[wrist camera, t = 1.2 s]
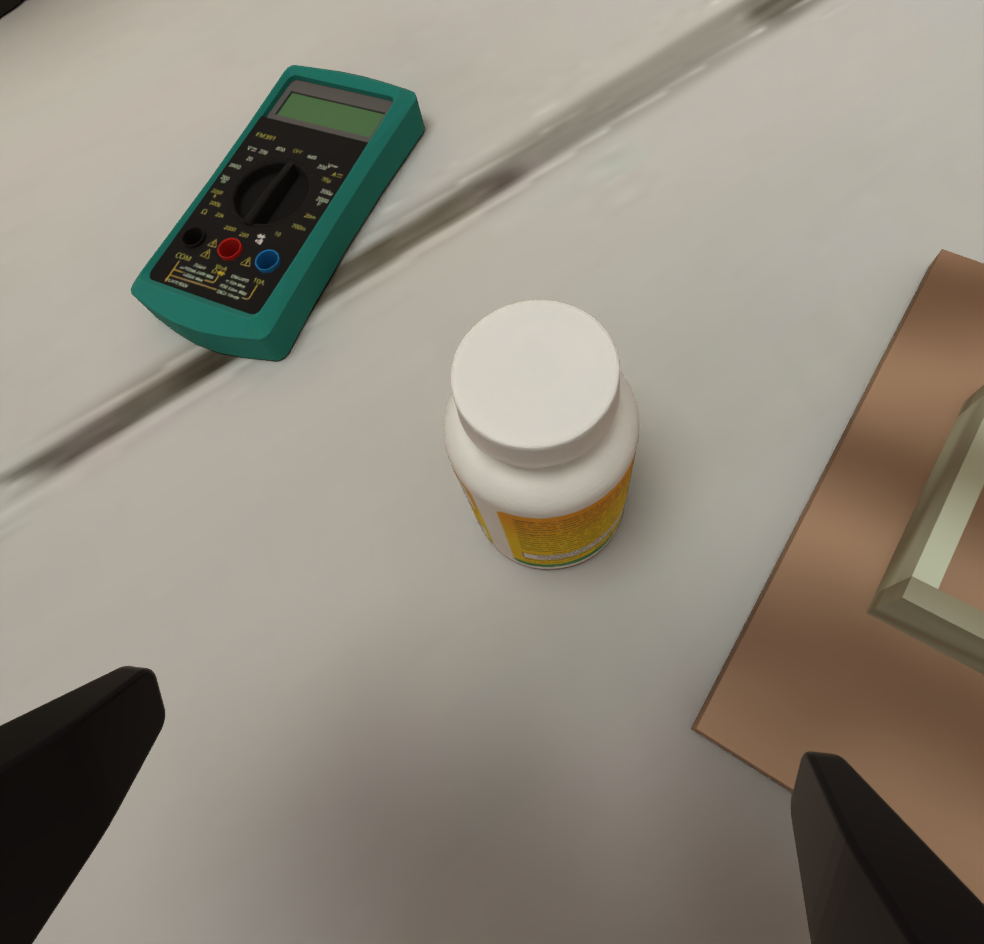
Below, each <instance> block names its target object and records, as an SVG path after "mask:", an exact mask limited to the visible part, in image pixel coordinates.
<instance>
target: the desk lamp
mask: <svg viewBox="0 0 984 944" xmlns="http://www.w3.org/2000/svg"><path fill="white" fill-rule="evenodd" d="M21 1H22V0H0V16H1V15H3V14H4V13H6V12H7V11H9V10H10V9H12V8H13V7H15V6H16V5H17V4H19V3H20V2H21Z"/></svg>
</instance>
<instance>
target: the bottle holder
mask: <svg viewBox="0 0 984 944" xmlns="http://www.w3.org/2000/svg"><path fill="white" fill-rule="evenodd" d="M691 729H692V730H694V731H696V732H697V733H699V734H700V735H702V736H704V737H705V738H707V739H708V740H710V741H711V742H713V743H715V744H716V745H718V746H719V747H721V748H723V749H724V750H726V751H727V752H729V753H730V754H732V755H734V756H735V757H737V758H738V759H740V760H742V761H743V762H745V763H746V764H748V765H750V766H751V767H753V768H754V769H756V770H757V771H759V772H761V773H762V774H764V775H765V776H767V777H769V778H770V779H772V780H773V781H775V782H776V783H778V784H780V785H781V786H783V787H784V788H786V789H788V790H789V791H791V792H792V793H793V789H794V785H795V781H796V777H797V773H798V769H799V765H800V761H801V757H802V756H803V754H804V753H805V752H808V751H814V752H822V753H830V754H836V755H839V756H841V757H842V758H844V759H845V760H846V761H847V762H848V763H849V764H850V765H851V766H852V767H853V768H854V769H855V771H856V772H857V773H858V774H859V775H860V776H861V777H862V778H863V779H864V780H865V781H866V782H867V783H868V784H869V785H870V786H871V787H872V788H873V789H874V790H875V791H876V792H877V793H878V794H879V795H880V797H881V798H882V799H883V800H884V801H885V802H886V803H887V804H888V805H889V806H890V807H891V808H892V809H893V810H894V811H895V812H896V813H897V814H898V815H899V816H900V817H901V818H902V819H903V820H904V821H905V823H906V824H907V825H908V826H909V827H910V828H911V829H912V830H913V831H914V832H915V833H916V834H917V835H918V836H919V837H920V838H921V839H922V840H923V841H924V842H925V843H926V844H927V845H928V846H929V847H930V849H931V850H932V851H933V852H934V853H935V854H936V855H937V856H938V857H939V858H940V859H941V860H942V861H943V862H944V863H945V864H946V865H947V866H948V867H949V868H950V869H951V870H952V871H953V872H954V874H955V875H956V876H957V877H958V878H959V879H960V880H961V881H962V882H963V883H964V884H965V885H966V886H967V887H968V888H969V889H970V890H971V891H972V892H973V893H974V894H975V895H976V896H977V897H978V898H979V900H980V901H981V902H982V903H983V904H984V264H983V263H980V262H978V261H975V260H972V259H969V258H966V257H963V256H960V255H958V254H955V253H952V252H949V251H946V250H943V249H942V250H941V251H940V253H939V254H938V255H937V257H936V258H935V259H934V261H933V262H932V263H931V265H930V266H929V268H928V270H927V272H926V274H925V276H924V278H923V279H922V281H921V283H920V285H919V287H918V289H917V291H916V293H915V295H914V297H913V299H912V301H911V303H910V305H909V307H908V309H907V311H906V313H905V314H904V316H903V318H902V320H901V322H900V324H899V326H898V328H897V330H896V332H895V334H894V336H893V338H892V340H891V342H890V344H889V346H888V347H887V349H886V351H885V353H884V355H883V357H882V359H881V361H880V363H879V365H878V367H877V369H876V371H875V373H874V375H873V377H872V379H871V381H870V382H869V384H868V386H867V388H866V390H865V392H864V394H863V396H862V398H861V400H860V402H859V404H858V406H857V408H856V410H855V412H854V414H853V415H852V417H851V419H850V421H849V423H848V425H847V427H846V429H845V431H844V433H843V435H842V437H841V439H840V441H839V443H838V445H837V447H836V449H835V450H834V452H833V454H832V456H831V458H830V460H829V462H828V464H827V466H826V468H825V470H824V472H823V474H822V476H821V478H820V480H819V482H818V483H817V485H816V487H815V489H814V491H813V493H812V495H811V497H810V499H809V501H808V503H807V505H806V507H805V509H804V511H803V513H802V515H801V517H800V518H799V520H798V522H797V524H796V526H795V528H794V530H793V532H792V534H791V536H790V538H789V540H788V542H787V544H786V546H785V548H784V550H783V551H782V553H781V555H780V557H779V559H778V561H777V563H776V565H775V567H774V569H773V571H772V573H771V575H770V577H769V579H768V581H767V583H766V585H765V586H764V588H763V590H762V592H761V594H760V596H759V598H758V600H757V602H756V604H755V606H754V608H753V610H752V612H751V614H750V616H749V618H748V619H747V621H746V623H745V625H744V627H743V629H742V631H741V633H740V635H739V637H738V639H737V641H736V643H735V645H734V647H733V649H732V651H731V653H730V654H729V656H728V658H727V660H726V662H725V664H724V666H723V668H722V670H721V672H720V674H719V676H718V678H717V680H716V682H715V684H714V686H713V687H712V689H711V691H710V693H709V695H708V697H707V699H706V701H705V703H704V705H703V707H702V709H701V711H700V713H699V715H698V717H697V719H696V721H695V722H694V724H693V726H692V728H691Z"/></svg>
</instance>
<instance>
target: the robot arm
mask: <svg viewBox="0 0 984 944" xmlns="http://www.w3.org/2000/svg"><path fill="white" fill-rule="evenodd" d="M164 720H165V708H164V704H163V700H162V697H161V693H160V689H159V686H158V682H157V678H156V675H155V673H154V672H153V671H152V670H150V669H148V668H141V667H133V666H124V667H120V668H118V669H116V670H114V671H112V672H110V673H108V674H106V675H104V676H102V677H100V678H98V679H95V680H93V681H91V682H89V683H87V684H85V685H83V686H81V687H79V688H77V689H75V690H73V691H71V692H69V693H67V694H65V695H63V696H61V697H58V698H56V699H54V700H52V701H50V702H48V703H46V704H44V705H42V706H40V707H38V708H36V709H34V710H32V711H30V712H28V713H26V714H24V715H21V716H19V717H17V718H15V719H13V720H11V721H9V722H7V723H5V724H3V725H1V726H0V944H32V943H33V942H34V940H35V939H36V937H37V936H38V934H39V933H40V931H41V930H42V928H43V927H44V925H45V924H46V922H47V921H48V919H49V917H50V916H51V914H52V913H53V911H54V910H55V908H56V907H57V905H58V904H59V902H60V901H61V899H62V898H63V896H64V895H65V893H66V892H67V890H68V889H69V887H70V886H71V884H72V883H73V881H74V879H75V878H76V876H77V875H78V873H79V872H80V870H81V869H82V867H83V866H84V864H85V863H86V861H87V860H88V858H89V857H90V855H91V854H92V852H93V851H94V849H95V848H96V846H97V844H98V843H99V841H100V840H101V838H102V836H103V835H104V833H105V832H106V830H107V828H108V827H109V825H110V823H111V821H112V820H113V818H114V816H115V815H116V813H117V811H118V809H119V807H120V805H121V804H122V802H123V800H124V798H125V796H126V794H127V792H128V791H129V789H130V787H131V785H132V783H133V781H134V780H135V778H136V776H137V774H138V772H139V770H140V768H141V767H142V765H143V763H144V761H145V759H146V757H147V755H148V754H149V752H150V750H151V748H152V746H153V744H154V742H155V741H156V739H157V737H158V735H159V733H160V731H161V729H162V727H163V724H164ZM791 817H792V824H793V830H794V836H795V843H796V849H797V856H798V862H799V869H800V875H801V881H802V888H803V894H804V901H805V907H806V914H807V920H808V926H809V932H810V938H811V944H984V904H983V903H982V902H981V901H980V900H979V898H978V897H977V896H976V895H975V894H974V893H973V892H972V891H971V890H970V889H969V888H968V887H967V886H966V885H965V884H964V883H963V882H962V881H961V880H960V879H959V878H958V877H957V876H956V875H955V874H954V872H953V871H952V870H951V869H950V868H949V867H948V866H947V865H946V864H945V863H944V862H943V861H942V860H941V859H940V858H939V857H938V856H937V855H936V854H935V853H934V852H933V851H932V850H931V849H930V847H929V846H928V845H927V844H926V843H925V842H924V841H923V840H922V839H921V838H920V837H919V836H918V835H917V834H916V833H915V832H914V831H913V830H912V829H911V828H910V827H909V826H908V825H907V824H906V823H905V821H904V820H903V819H902V818H901V817H900V816H899V815H898V814H897V813H896V812H895V811H894V810H893V809H892V808H891V807H890V806H889V805H888V804H887V803H886V802H885V801H884V800H883V799H882V798H881V797H880V795H879V794H878V793H877V792H876V791H875V790H874V789H873V788H872V787H871V786H870V785H869V784H868V783H867V782H866V781H865V780H864V779H863V778H862V777H861V776H860V775H859V774H858V773H857V772H856V771H855V769H854V768H853V767H852V766H851V765H850V764H849V763H848V762H847V761H846V760H845V759H844V758H842V757H841V756H839V755H836V754H830V753H822V752H814V751H808V752H805V753H804V754H803V756H802V757H801V761H800V765H799V769H798V773H797V777H796V781H795V785H794V789H793V793H792V798H791Z"/></svg>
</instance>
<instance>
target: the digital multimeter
mask: <svg viewBox="0 0 984 944" xmlns="http://www.w3.org/2000/svg"><path fill="white" fill-rule="evenodd" d="M424 128H425V127H424V123H423V119H422V116H421V112H420V108H419V105H418V101H417V97H416V95H415V93H414V92H412V91H410V90H407V89H404V88H401V87H398V86H395V85H392V84H389V83H385V82H382V81H378V80H375V79H371V78H368V77H364V76H359V75H355V74H350V73H346V72H340V71H333V70H326V69H319V68H312V67H305V66H298V65H293V66H290V67H288V68H287V69H286V70H285V71H284V73H283V74H282V76H281V77H280V79H279V80H278V82H277V83H276V85H275V86H274V88H273V89H272V90H271V92H270V93H269V95H268V96H267V98H266V99H265V101H264V102H263V104H262V105H261V107H260V108H259V110H258V111H257V112H256V114H255V115H254V117H253V118H252V120H251V121H250V123H249V124H248V126H247V127H246V129H245V130H244V131H243V133H242V134H241V136H240V137H239V138H238V140H237V141H236V143H235V144H234V146H233V147H232V148H231V150H230V151H229V153H228V154H227V155H226V157H225V158H224V160H223V161H222V163H221V164H220V165H219V167H218V168H217V170H216V171H215V173H214V174H213V175H212V177H211V178H210V180H209V181H208V182H207V184H206V185H205V186H204V188H203V189H202V190H201V192H200V193H199V194H198V196H197V197H196V198H195V200H194V201H193V202H192V204H191V205H190V207H189V208H188V209H187V211H186V212H185V213H184V215H183V216H182V217H181V219H180V220H179V221H178V223H177V224H176V225H175V227H174V228H173V229H172V231H171V232H170V233H169V235H168V236H167V237H166V239H165V240H164V242H163V243H162V244H161V246H160V247H159V248H158V250H157V251H156V252H155V254H154V255H153V256H152V258H151V259H150V260H149V262H148V263H147V264H146V266H145V267H144V268H143V270H142V271H141V272H140V274H139V275H138V277H137V279H136V280H135V282H134V283H133V285H132V288H131V292H132V294H133V295H134V296H135V297H136V298H137V299H138V300H139V301H140V302H141V303H142V304H143V305H144V306H145V307H146V308H147V309H148V310H149V311H150V312H151V313H152V314H153V315H155V316H156V317H157V318H158V319H159V320H161V321H162V322H163V323H165V324H166V325H167V326H169V327H170V328H171V329H173V330H174V331H175V332H177V333H178V334H180V335H181V336H183V337H185V338H186V339H188V340H190V341H191V342H193V343H195V344H197V345H199V346H202V347H205V348H207V349H210V350H213V351H215V352H218V353H222V354H228V355H233V356H238V357H244V358H253V359H262V360H272V361H279V360H281V359H283V358H284V357H285V356H286V355H287V354H288V353H289V351H290V349H291V347H292V345H293V343H294V341H295V340H296V338H297V336H298V334H299V332H300V330H301V328H302V327H303V325H304V323H305V321H306V319H307V317H308V315H309V313H310V312H311V310H312V308H313V306H314V304H315V302H316V301H317V299H318V297H319V296H320V294H321V292H322V291H323V289H324V287H325V286H326V284H327V282H328V281H329V279H330V277H331V275H332V274H333V272H334V270H335V268H336V267H337V265H338V263H339V261H340V260H341V258H342V256H343V254H344V253H345V251H346V249H347V247H348V246H349V244H350V243H351V241H352V240H353V238H354V236H355V235H356V233H357V232H358V230H359V229H360V227H361V225H362V224H363V222H364V221H365V219H366V217H367V216H368V214H369V213H370V211H371V209H372V208H373V206H374V205H375V203H376V201H377V200H378V198H379V196H380V195H381V193H382V192H383V190H384V189H385V187H386V186H387V185H388V183H389V182H390V180H391V179H392V177H393V176H394V174H395V173H396V171H397V170H398V169H399V167H400V166H401V164H402V163H403V161H404V160H405V158H406V157H407V155H408V154H409V152H410V151H411V149H412V148H413V146H414V145H415V143H416V142H417V140H418V139H419V137H420V136H421V134H422V133H423V131H424ZM361 153H362V154H361ZM359 156H360V157H359ZM282 158H285V159H282ZM271 159H272V160H271ZM290 159H291V160H290ZM267 160H268V161H267ZM294 160H295V161H294ZM356 161H357V162H356ZM299 162H300V163H299ZM354 164H355V165H354ZM352 167H353V168H352ZM349 172H350V173H349ZM347 175H348V176H347ZM345 178H346V179H345ZM342 183H343V184H342ZM340 186H341V187H340ZM338 189H339V190H338ZM336 192H337V193H336ZM335 194H336V195H335ZM333 197H334V198H333ZM331 200H332V201H331ZM329 203H330V204H329ZM328 205H329V206H328ZM326 208H327V209H326ZM324 211H325V212H324ZM322 214H323V215H322ZM321 216H322V217H321ZM235 217H236V218H237V219H238V220H237V219H236V218H235ZM319 219H320V220H319ZM317 222H318V223H317ZM315 225H316V226H315ZM312 230H313V231H312ZM310 233H311V234H310ZM308 236H309V237H308ZM303 244H304V245H303ZM301 247H302V248H301ZM299 250H300V251H299ZM294 258H295V259H294ZM292 261H293V262H292Z"/></svg>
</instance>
